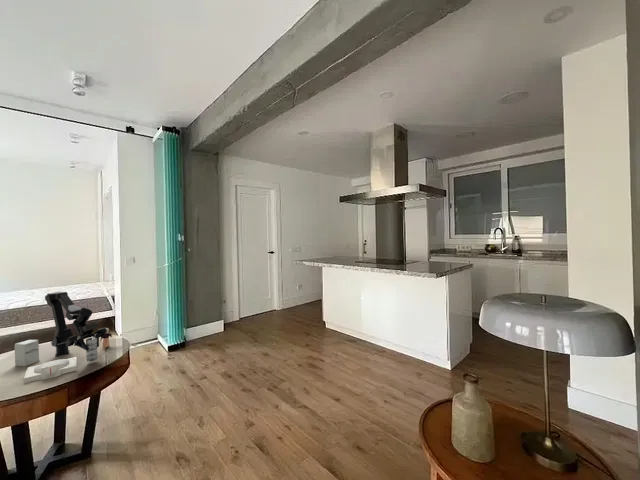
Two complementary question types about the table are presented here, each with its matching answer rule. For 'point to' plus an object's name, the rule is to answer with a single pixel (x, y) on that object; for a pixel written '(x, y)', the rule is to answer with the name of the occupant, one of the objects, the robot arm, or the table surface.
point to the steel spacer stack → (91, 349)
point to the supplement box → (26, 352)
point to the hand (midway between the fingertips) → (93, 348)
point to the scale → (50, 369)
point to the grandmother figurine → (106, 339)
